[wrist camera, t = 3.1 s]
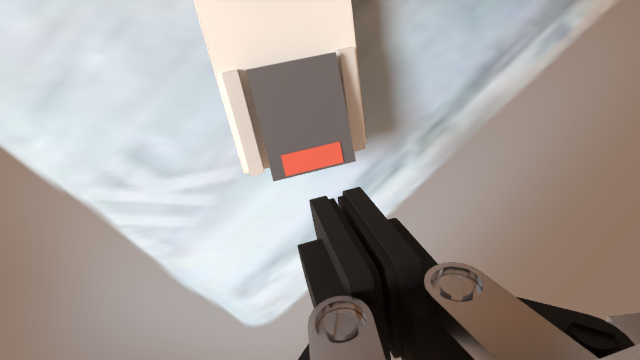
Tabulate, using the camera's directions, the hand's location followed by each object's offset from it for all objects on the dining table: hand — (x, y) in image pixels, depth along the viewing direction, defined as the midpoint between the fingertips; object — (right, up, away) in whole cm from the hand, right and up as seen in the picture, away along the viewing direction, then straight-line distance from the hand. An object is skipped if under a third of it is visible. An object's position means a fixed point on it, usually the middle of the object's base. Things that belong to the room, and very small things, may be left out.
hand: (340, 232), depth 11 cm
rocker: (-2, +5, +5) cm, 7 cm away
